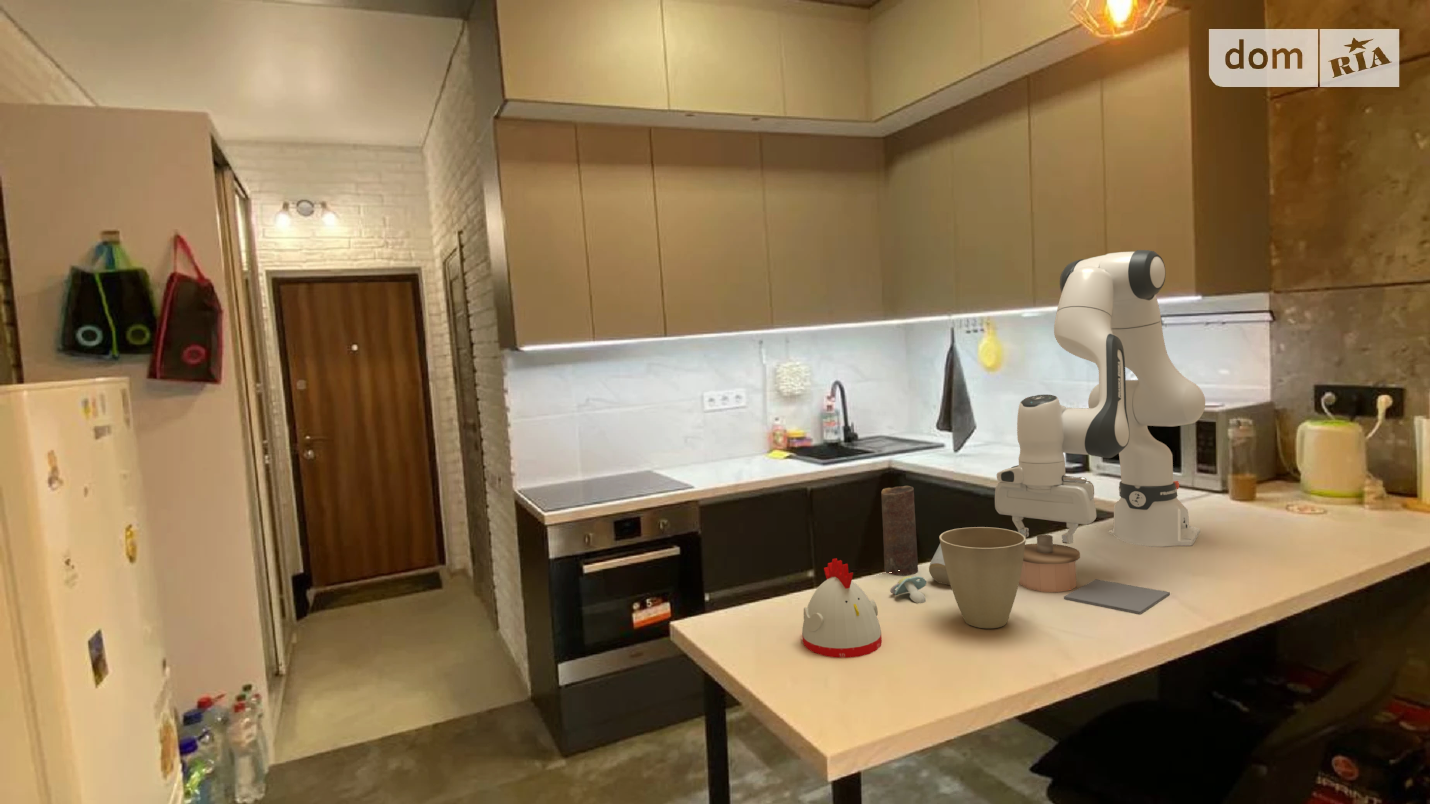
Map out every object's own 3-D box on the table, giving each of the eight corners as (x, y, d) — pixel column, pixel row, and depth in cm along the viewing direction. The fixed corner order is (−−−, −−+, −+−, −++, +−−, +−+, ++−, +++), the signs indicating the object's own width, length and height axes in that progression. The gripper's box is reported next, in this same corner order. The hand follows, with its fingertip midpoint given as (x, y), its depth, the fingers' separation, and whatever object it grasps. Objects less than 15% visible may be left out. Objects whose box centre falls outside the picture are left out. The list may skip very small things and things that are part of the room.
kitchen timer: (829, 664, 128) (823, 576, 127) (788, 638, 141) (783, 557, 140) (897, 646, 134) (893, 561, 133) (853, 622, 146) (848, 545, 145)
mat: (1095, 581, 160) (1095, 579, 160) (1169, 594, 149) (1169, 592, 149) (1064, 598, 151) (1064, 596, 151) (1140, 614, 140) (1140, 611, 140)
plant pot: (929, 626, 141) (925, 541, 140) (963, 603, 152) (959, 524, 151) (1011, 643, 131) (1007, 551, 130) (1041, 616, 142) (1037, 531, 141)
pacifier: (911, 587, 162) (923, 570, 158) (927, 612, 158) (940, 595, 154) (883, 593, 158) (894, 576, 155) (899, 619, 154) (911, 602, 151)
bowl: (1034, 572, 168) (1033, 545, 168) (1085, 581, 160) (1084, 553, 160) (1008, 585, 161) (1007, 557, 161) (1060, 595, 153) (1058, 565, 153)
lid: (1031, 547, 170) (1030, 526, 169) (1091, 557, 160) (1090, 534, 159) (1000, 561, 161) (999, 538, 161) (1061, 571, 151) (1060, 547, 151)
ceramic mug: (942, 591, 165) (918, 566, 165) (958, 564, 169) (935, 539, 169) (977, 585, 156) (952, 558, 156) (993, 556, 160) (969, 530, 160)
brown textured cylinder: (919, 580, 169) (914, 490, 167) (885, 581, 170) (880, 491, 169) (917, 570, 176) (912, 484, 175) (884, 570, 178) (879, 485, 176)
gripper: (1100, 475, 153) (1103, 543, 154) (1004, 468, 169) (1007, 530, 170) (1086, 480, 149) (1089, 550, 150) (989, 472, 165) (992, 536, 166)
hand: (1045, 539), depth 160 cm, fingers open, 8 cm apart
